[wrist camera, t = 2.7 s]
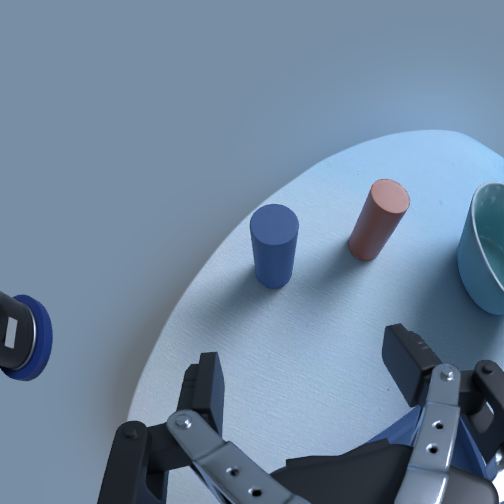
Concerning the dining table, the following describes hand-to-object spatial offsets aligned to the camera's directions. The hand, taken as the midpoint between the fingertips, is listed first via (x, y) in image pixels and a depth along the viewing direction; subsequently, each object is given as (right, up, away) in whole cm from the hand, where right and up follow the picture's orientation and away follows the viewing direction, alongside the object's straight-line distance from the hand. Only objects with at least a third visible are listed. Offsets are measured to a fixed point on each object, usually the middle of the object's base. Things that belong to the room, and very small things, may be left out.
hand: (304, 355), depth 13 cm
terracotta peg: (+10, +5, +17) cm, 21 cm away
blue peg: (0, +3, +17) cm, 17 cm away
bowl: (+26, +2, +15) cm, 30 cm away
